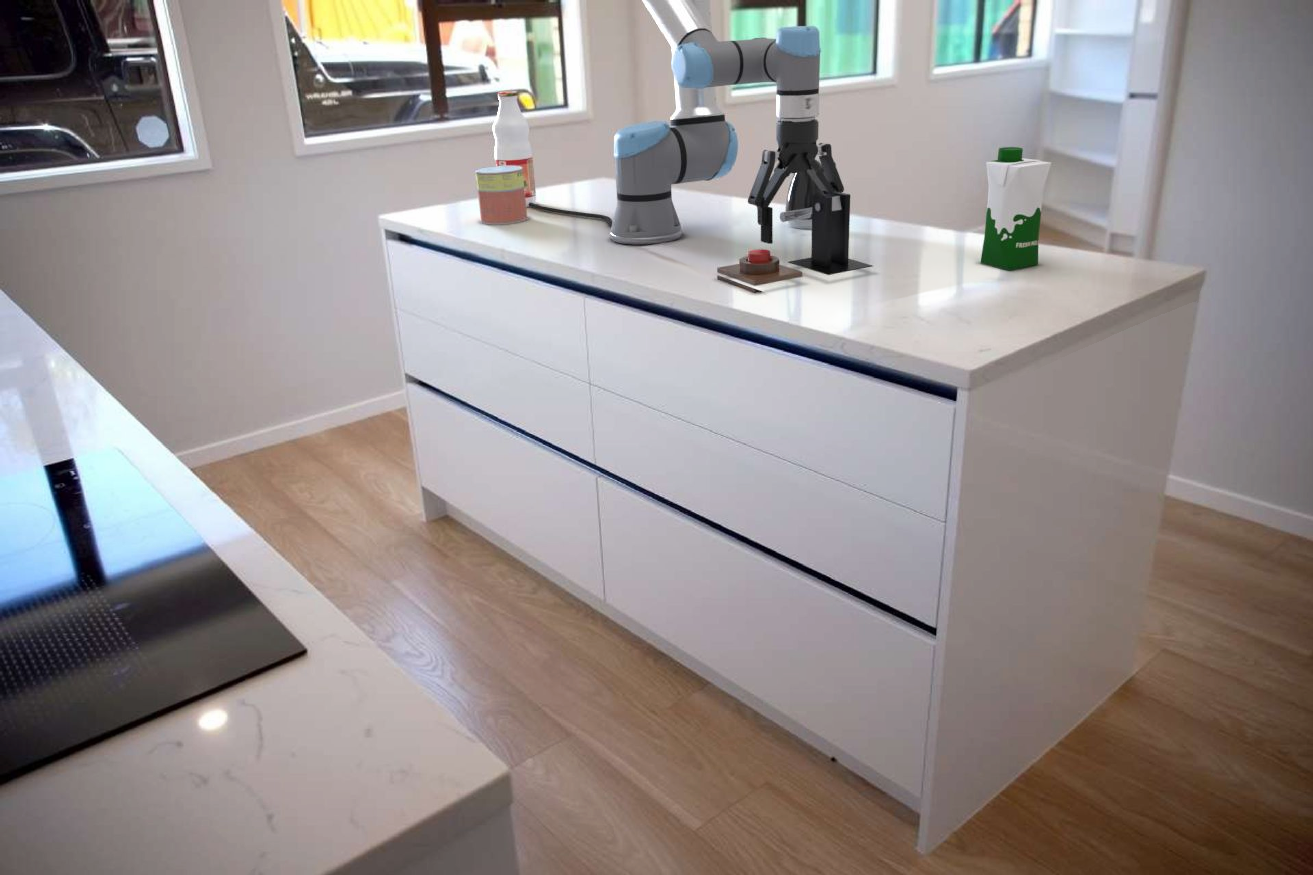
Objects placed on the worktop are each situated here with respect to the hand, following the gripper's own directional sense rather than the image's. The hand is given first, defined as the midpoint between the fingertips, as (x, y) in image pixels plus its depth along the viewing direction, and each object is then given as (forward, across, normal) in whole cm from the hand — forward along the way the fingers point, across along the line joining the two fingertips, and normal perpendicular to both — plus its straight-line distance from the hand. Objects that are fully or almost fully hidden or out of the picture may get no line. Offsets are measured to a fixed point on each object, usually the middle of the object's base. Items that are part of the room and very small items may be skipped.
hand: (796, 237), depth 187 cm
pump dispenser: (+5, +18, +20) cm, 27 cm away
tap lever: (-5, 0, -6) cm, 7 cm away
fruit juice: (+5, -19, +95) cm, 97 cm away
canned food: (+5, -29, +79) cm, 84 cm away
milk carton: (+5, +28, -26) cm, 39 cm away
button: (+1, -14, -8) cm, 16 cm away
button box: (+5, -14, -8) cm, 17 cm away
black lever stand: (+5, 0, -10) cm, 11 cm away
